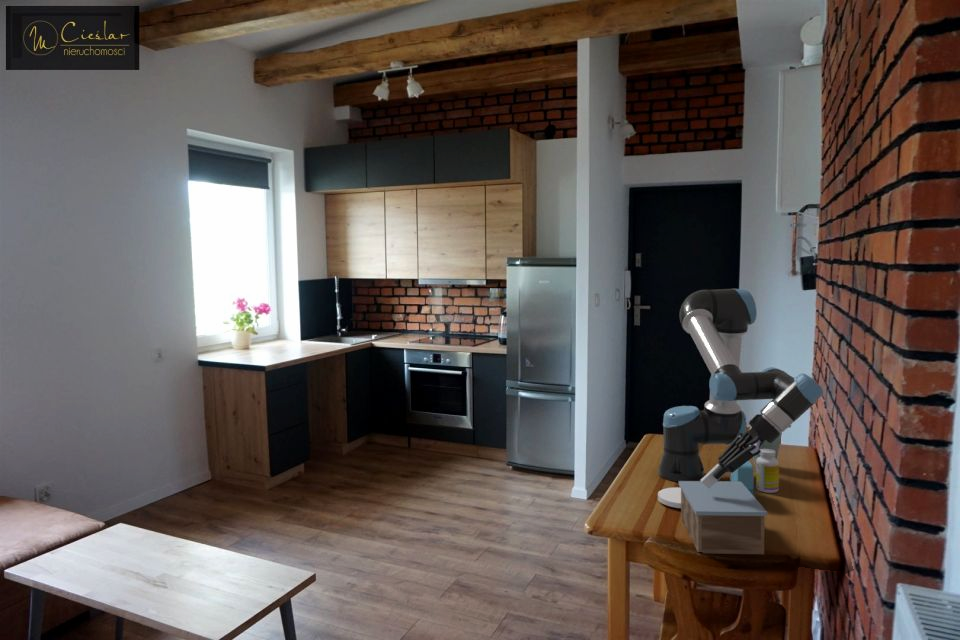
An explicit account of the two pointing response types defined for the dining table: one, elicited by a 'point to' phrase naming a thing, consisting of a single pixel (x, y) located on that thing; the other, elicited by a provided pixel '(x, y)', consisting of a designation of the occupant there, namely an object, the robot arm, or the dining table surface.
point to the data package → (744, 475)
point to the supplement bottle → (767, 471)
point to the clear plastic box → (723, 532)
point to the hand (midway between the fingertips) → (704, 484)
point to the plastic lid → (670, 497)
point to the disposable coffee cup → (769, 446)
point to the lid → (721, 499)
